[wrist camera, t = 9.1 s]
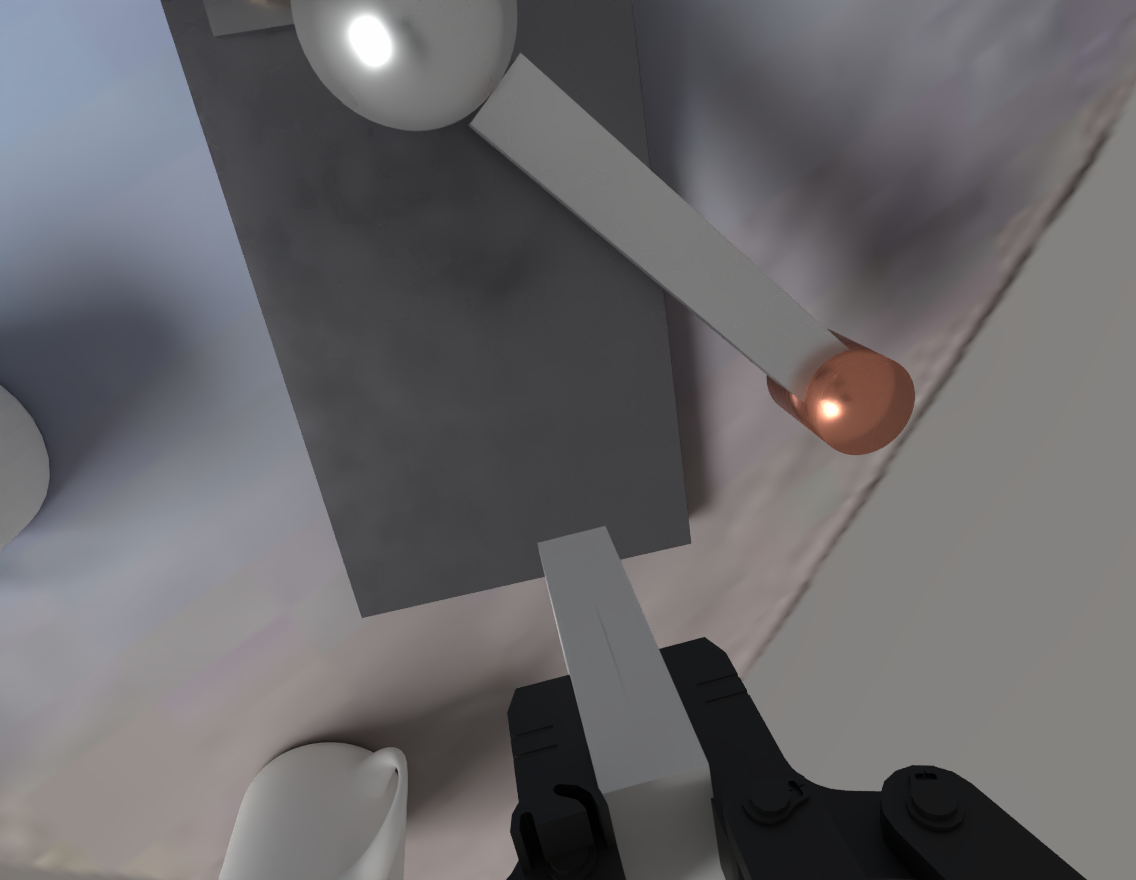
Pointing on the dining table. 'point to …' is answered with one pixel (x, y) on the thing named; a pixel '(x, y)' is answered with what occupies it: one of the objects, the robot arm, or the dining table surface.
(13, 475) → the mug
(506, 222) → the press base
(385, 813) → the mug
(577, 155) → the lever
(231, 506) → the dining table surface
